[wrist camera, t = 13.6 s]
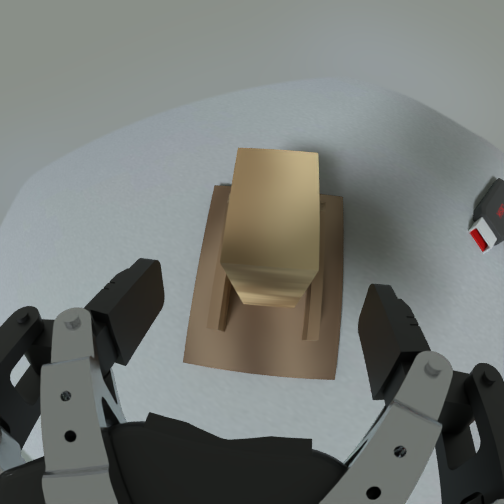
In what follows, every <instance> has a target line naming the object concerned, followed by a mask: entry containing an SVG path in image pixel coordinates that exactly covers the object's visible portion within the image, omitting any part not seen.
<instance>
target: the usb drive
mask: <svg viewBox="0 0 504 504" xmlns="http://www.w3.org/2000/svg"><path fill="white" fill-rule="evenodd" d="M473 221H474V222H475V223H474V224H473V225H472V227H471V228H470V229H469V233H470V234H471V235H472V237H473V238H474V240H475V241H476V243H477V244H478V246H479V247H480V249H481V250H482V252H483V253H486V252H487V251H489V250H491V249H492V247H493V246H495V245H497V244H499V243H501V242H502V241H504V181H503V180H502V179H500V178H498V179H497V180H496V181H495V182H494V183H493V185H492V186H491V188H490V189H489V191H488V192H487V193H486V195H485V196H484V198H483V199H482V201H481V202H480V203H479V205H478V206H477V207H476V209H475V210H474V215H473Z"/></svg>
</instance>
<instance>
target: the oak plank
mask: <svg viewBox="0 0 504 504" xmlns="http://www.w3.org/2000/svg"><path fill="white" fill-rule="evenodd" d="M319 239H320V202H319V162H318V153H313V152H302V151H290V150H275V149H256V148H238V151H237V157H236V163H235V168H234V174H233V180H232V186H231V192H230V199H229V205H228V211H227V218H226V224H225V231H224V237H223V244H222V251H221V258H220V264H221V266H222V267H223V269H224V271H225V273H226V274H227V276H228V278H229V280H230V281H231V283H232V285H233V287H234V288H235V290H236V292H237V294H238V295H239V297H240V299H241V301H242V302H243V304H249V305H260V306H272V307H285V308H295V306H296V305H297V303H298V302H299V300H300V299H301V297H302V296H303V294H304V293H305V291H306V290H307V288H308V287H309V285H310V283H311V282H312V280H313V279H314V277H315V276H316V274H317V272H318V271H319Z"/></svg>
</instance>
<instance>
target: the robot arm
mask: <svg viewBox="0 0 504 504" xmlns="http://www.w3.org/2000/svg"><path fill="white" fill-rule="evenodd" d="M163 304H164V287H163V280H162V272H161V265H160V262H159V261H158V260H152V259H144V258H140V259H138V260H137V261H136V262H135V263H134V264H133V265H132V266H131V267H130V268H129V269H126V270H124V271H122V272H120V273H118V274H117V275H116V276H115V277H114V278H113V279H112V280H111V281H110V283H108V284H107V285H106V286H105V287H104V289H102V290H101V291H100V292H99V293H98V294H97V295H96V296H95V297H94V298H93V299H92V300H91V301H90V302H89V303H88V304H87V305H86V306H85V307H84V308H71V309H68V310H65V311H63V312H62V313H60V314H59V315H58V316H57V317H56V319H55V320H45V319H41V316H40V314H39V311H38V309H37V308H35V307H32V306H26V307H23V308H20V309H18V310H17V311H15V312H14V313H13V314H12V315H11V316H10V317H9V318H8V319H7V320H6V321H5V322H4V323H3V325H2V326H1V327H0V504H405V503H406V501H407V500H408V498H409V496H410V495H411V493H412V491H413V489H414V488H415V486H416V484H417V482H418V480H419V478H420V476H421V475H422V473H423V471H424V469H425V467H426V464H427V462H428V460H429V458H430V456H431V454H432V452H433V449H434V447H435V448H436V455H437V461H438V469H439V477H440V486H441V498H442V504H504V381H503V379H502V377H501V375H500V373H499V372H498V371H497V369H495V368H494V367H493V366H491V365H489V364H487V363H479V364H477V365H476V366H475V367H474V368H473V370H472V371H471V373H470V374H468V373H463V372H458V371H453V369H452V366H451V364H450V362H449V361H448V360H447V359H446V358H445V357H444V356H442V355H441V354H439V353H437V352H433V351H431V350H430V347H429V345H428V343H427V341H426V339H425V337H424V335H423V332H422V330H421V328H420V326H418V322H417V320H416V318H414V317H415V316H414V314H413V312H412V310H411V308H410V307H409V306H408V305H407V304H406V303H405V302H404V301H403V300H402V299H397V297H396V295H395V293H394V291H393V289H392V287H391V286H390V285H382V284H371V285H370V286H369V289H368V292H367V295H366V298H365V302H364V305H363V308H362V311H361V314H360V317H359V322H358V333H359V337H360V341H361V345H362V350H363V354H364V359H365V363H366V368H367V372H368V377H369V382H370V387H371V393H372V398H373V400H384V401H385V406H384V408H383V409H382V411H381V412H380V414H379V415H378V417H377V418H376V420H375V421H374V423H373V424H372V426H371V427H370V429H369V430H368V432H367V433H366V434H365V436H364V437H363V439H362V440H361V441H360V443H359V444H358V445H357V447H356V448H355V449H354V451H353V452H352V453H351V454H350V455H349V457H348V458H347V459H346V460H345V461H344V462H343V463H342V462H341V461H339V460H337V459H336V458H334V457H332V456H330V455H328V454H326V453H323V452H320V451H318V450H314V449H312V439H302V438H285V437H273V436H269V437H260V438H249V439H234V440H227V439H222V438H220V437H217V436H215V435H213V434H210V433H208V432H206V431H204V430H202V429H199V428H197V427H195V426H193V425H191V424H189V423H187V422H183V421H179V420H175V419H172V418H168V417H164V416H161V415H157V414H154V413H151V412H149V414H148V417H147V419H146V421H145V422H144V421H140V422H127V421H126V419H125V417H124V414H123V411H122V408H121V404H120V400H119V396H118V392H117V388H116V383H115V379H114V374H113V371H112V368H111V367H112V366H113V364H114V362H115V363H118V364H121V365H124V366H126V365H127V364H128V362H129V360H130V359H131V357H132V355H133V354H134V352H135V350H136V349H137V347H138V346H139V344H140V342H141V341H142V339H143V337H144V336H145V334H146V333H147V331H148V330H149V328H150V326H151V325H152V323H153V322H154V320H155V319H156V317H157V315H158V314H159V312H160V311H161V309H162V307H163ZM23 355H25V356H26V358H27V360H28V361H29V363H30V366H29V368H28V369H27V370H26V372H25V373H24V375H23V376H22V377H21V379H20V380H19V382H18V383H17V385H16V386H15V388H14V386H13V385H12V383H11V381H10V374H11V371H12V369H13V368H14V367H15V365H16V364H17V363H18V361H19V360H20V359H21V357H22V356H23ZM40 414H41V428H42V440H43V449H44V456H43V457H41V458H38V459H35V460H33V461H30V462H27V463H26V462H25V460H24V458H23V457H22V456H21V450H22V448H23V446H24V444H25V442H26V440H27V438H28V436H29V434H30V432H31V431H32V429H33V427H34V425H35V423H36V421H37V420H38V418H39V416H40ZM474 420H475V421H476V425H477V428H478V432H479V436H480V440H481V443H480V448H479V450H478V452H477V453H476V451H475V447H474V443H473V439H472V435H471V431H470V427H469V425H470V424H471V423H472V422H473V421H474Z"/></svg>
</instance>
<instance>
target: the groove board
mask: <svg viewBox="0 0 504 504" xmlns="http://www.w3.org/2000/svg"><path fill="white" fill-rule="evenodd" d="M230 192H231V186H216V185H215V186H214V191H213V195H212V200H211V204H210V209H209V214H208V219H207V223H206V228H205V233H204V238H203V244H202V249H201V254H200V259H199V265H198V270H197V276H196V281H195V287H194V293H193V299H192V305H191V311H190V318H189V324H188V331H187V337H186V344H185V351H184V359H183V362H184V363H189V364H194V365H200V366H205V367H211V368H217V369H223V370H230V371H236V372H244V373H251V374H260V375H269V376H279V377H291V378H306V379H327V380H335V373H336V365H337V355H338V345H339V334H340V322H341V306H342V287H343V197H340V196H332V195H324V194H319V202H320V239H319V271H318V272H317V274H316V276H315V277H314V279H313V280H312V282H311V283H310V285H309V287H308V288H307V290H306V291H305V293H304V294H303V296H302V297H301V299H300V300H299V302H298V303H297V305H296V306H295V308H285V307H272V306H260V305H249V304H243V302H242V301H241V299H240V297H239V295H238V294H237V292H236V290H235V288H234V287H233V285H232V283H231V281H230V280H229V278H228V276H227V274H226V273H225V271H224V269H223V267H222V266H221V264H220V258H221V251H222V244H223V237H224V231H225V224H226V218H227V211H228V205H229V199H230Z"/></svg>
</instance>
